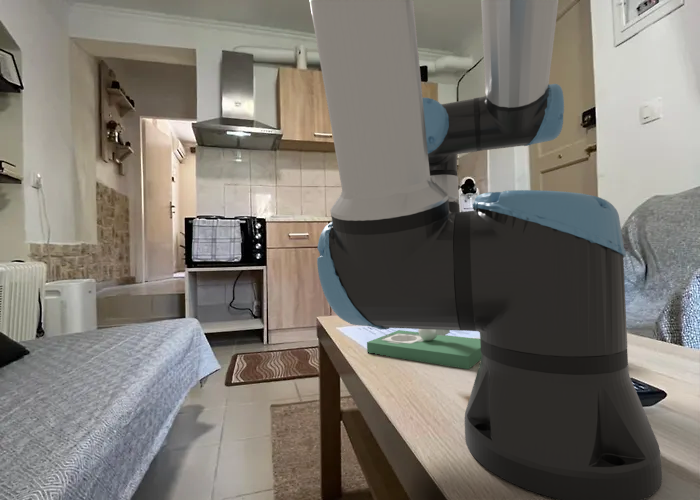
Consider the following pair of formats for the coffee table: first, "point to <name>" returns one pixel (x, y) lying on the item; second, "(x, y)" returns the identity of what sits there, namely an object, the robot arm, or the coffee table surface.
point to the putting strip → (428, 348)
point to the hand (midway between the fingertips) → (442, 333)
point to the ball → (427, 334)
